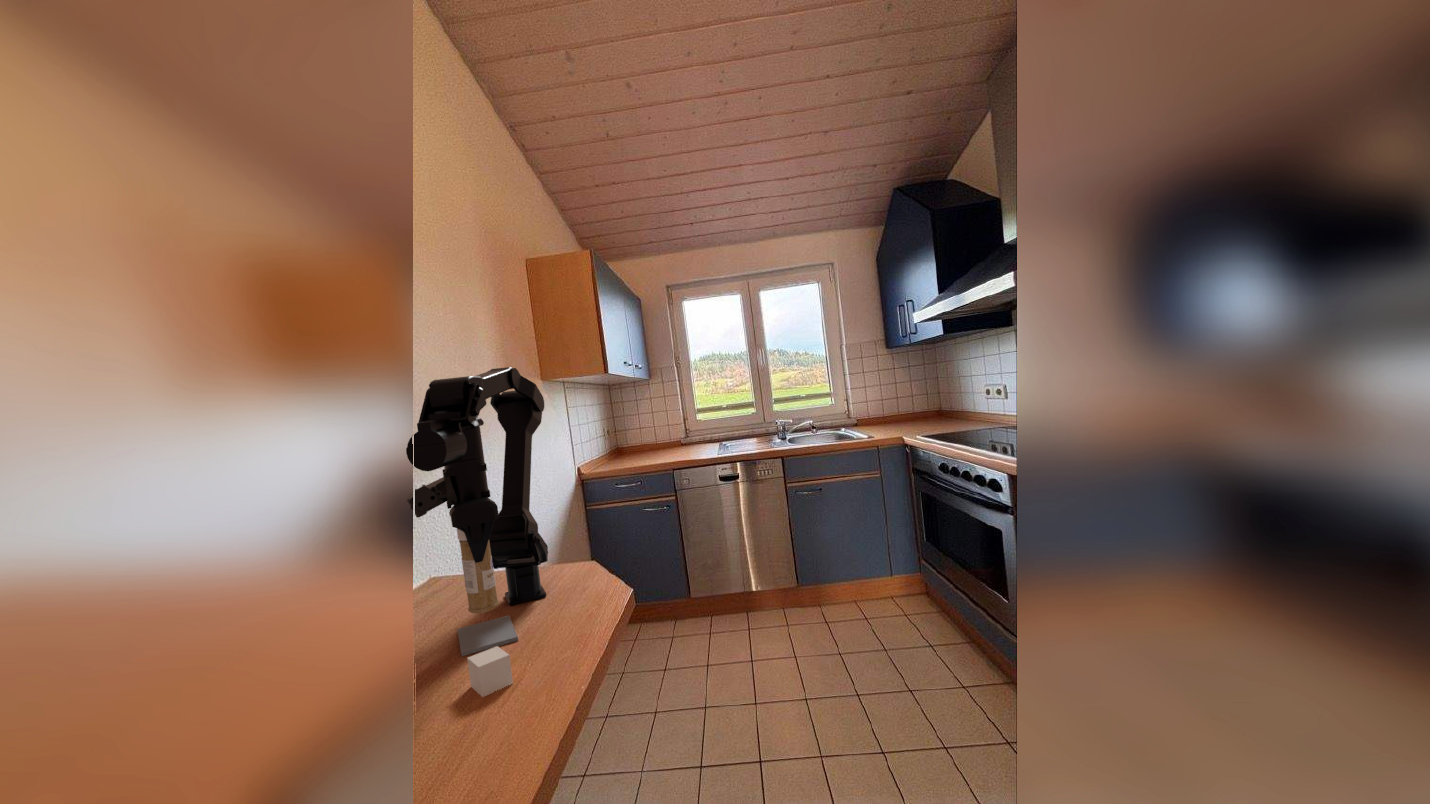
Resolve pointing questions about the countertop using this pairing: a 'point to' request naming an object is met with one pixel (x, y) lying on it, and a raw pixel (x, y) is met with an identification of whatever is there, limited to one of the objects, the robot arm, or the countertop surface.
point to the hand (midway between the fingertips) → (477, 558)
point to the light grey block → (490, 671)
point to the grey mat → (486, 635)
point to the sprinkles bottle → (478, 578)
